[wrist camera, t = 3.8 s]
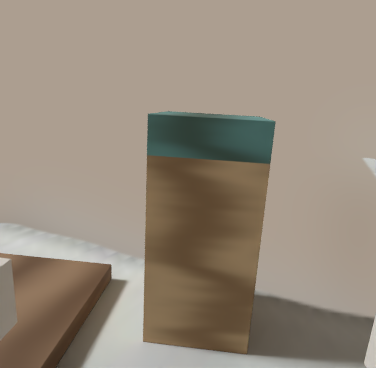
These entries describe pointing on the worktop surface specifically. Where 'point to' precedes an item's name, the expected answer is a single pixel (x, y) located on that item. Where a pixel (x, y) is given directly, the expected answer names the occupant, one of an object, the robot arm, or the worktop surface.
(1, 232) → the worktop surface
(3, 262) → the robot arm
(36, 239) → the worktop surface
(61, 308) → the walnut board
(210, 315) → the tan rectangular block
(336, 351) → the worktop surface
